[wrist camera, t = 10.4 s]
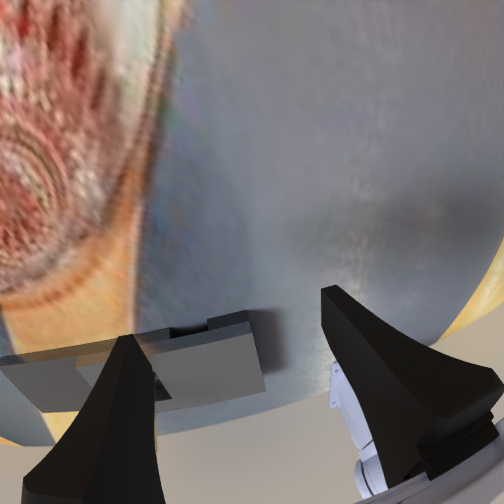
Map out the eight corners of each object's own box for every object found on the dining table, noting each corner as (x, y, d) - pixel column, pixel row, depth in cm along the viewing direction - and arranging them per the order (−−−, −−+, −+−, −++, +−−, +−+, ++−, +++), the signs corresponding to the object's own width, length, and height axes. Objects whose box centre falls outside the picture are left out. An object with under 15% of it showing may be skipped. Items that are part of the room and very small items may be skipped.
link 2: (260, 370, 28) (265, 391, 26) (120, 397, 27) (119, 417, 25) (246, 310, 24) (252, 332, 22) (80, 345, 23) (75, 367, 21)
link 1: (197, 384, 28) (198, 394, 27) (44, 404, 27) (42, 412, 26) (169, 327, 24) (169, 339, 23) (0, 357, 22) (-3, 366, 21)
